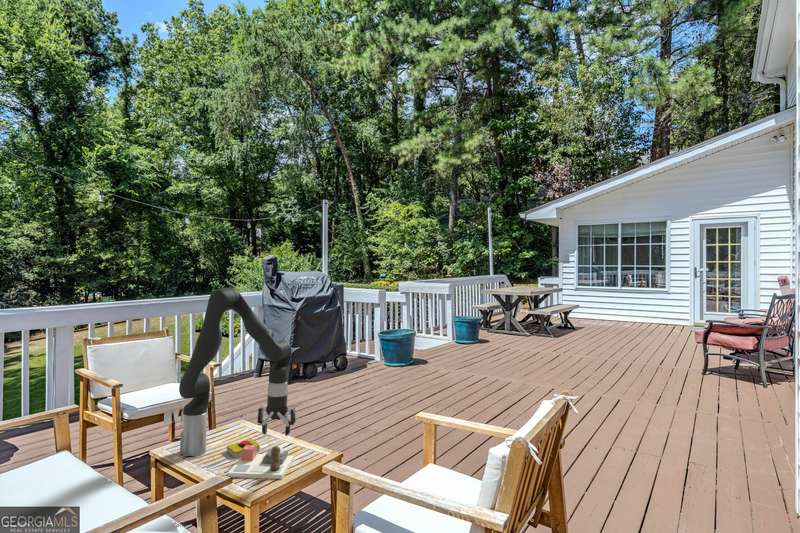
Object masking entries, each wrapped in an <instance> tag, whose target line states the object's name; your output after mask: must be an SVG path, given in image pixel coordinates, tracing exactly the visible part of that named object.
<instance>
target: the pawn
mask: <svg viewBox="0 0 800 533" xmlns="http://www.w3.org/2000/svg"><path fill="white" fill-rule="evenodd" d="M273 446H274V447H273V448H272V449H271V462H270V470H271V471H278V470H280V448H279V447H278V446H279V445H273Z"/></svg>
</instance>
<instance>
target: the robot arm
mask: <svg viewBox="0 0 800 533" xmlns="http://www.w3.org/2000/svg"><path fill="white" fill-rule="evenodd" d="M231 310H232V311H234V312H235V313H236V314H238V316H239V317H240V319H241V320H242V322H243V326H244V329H245V331H246V332H247V334H248V335H249V337H250V338H251V339H253V340H254V341H255V342H256V343H257V344H258V345H259V348H261V351H262V352H263V355H264V356H265V357H266V358H267V359H268V360H269V361H272V362H274V364H273V365H271V366H270V368H269V370H268V384H267V400H266V407H264V406H263V405H262V406H259V408H258V410H257V411H258V412H257V420H256V421H257V422H256V423H257V424H261V433H262V434H263V435H266V434H267V432H268V422H269V421H270V419H271V420H272V421H273V420H277V421H282V422H283V423H284V424H285V431H284V432H285V433H284V434H285V436H286V437H287V436H288V435H290V433H291V426H294V425H295V423H296V420H297V419H296V408H295V407H292V408H289V407H288V393H289V388H288V386H289V385H288V375H289V372H288V370H289V367H290V364H291V359H292V354H293V350H292V349H293V348H292V345H291V343H290V342H289V341H287V340H280V341H275V339H274V337H275V334H274V331H273V330H271V329H270V327H269V326H268V325H267V324H266V323H264V322H263V321H262V320H261V319H260V317H258V315H257V314H256V313H255V312H254V309H252V307H251V306H250V305H249V303H248V302H247V301H246V299H245V298H244V296H243V295H242V294H241V292H240V291H239V290H238V289H236V288H235V287H233V286H228V287H227V286H226V287H223V288H217V289H214V290H213V291H212V292H211V293H210V295H209V298H208V302H207V305H206V310H205V315H204V318H203V322H202V324H201V325H202V326H201V328H200V332H199V334H198V337H197V339H196V342H195V345H194V348H193V352H192V355H191V358H190V360H189V361H188V362H189V363H188V364H187V367H186V369H185V370H184V373H183V375H182V377H181V379H180V382H179V386H178V391H179V394H180V396H181V398H183V399H185V400H186V399H188V400H189V399H191V400H190V401H189V402H188V403H187V404H186V405H184V407H183V410H182V431H180V438H179V439H180V440H179V441H180V442H179V446H180V448H179V455H180V454H183V455H185V456H195V457H199V456H202V455H203V454H205V453H206V451H207V431H208V430H207V426H208V425H207V423H208V422H207V421H208V420H207V419H208V407H209V405H210V404H209V403H210V394H211V393H210V392H211V381H210V377H209V376H208V375H207V374H206V373H203V371H204V369H205V368H206V367H207V366H208V365H210V363H211V362H212V360H214V358H215V357H216V356H217V354H218V353H219V351H220V350H219V349H220V347H221V343H222V341H223V334H222V330H221V326H220V324H221V321H222V318H223V315H224V313H225V312H228V311H231ZM265 412H266V414H267V416H266V417H265V419H264V418H263V417H264V413H265ZM287 413H288V414H289V415H290V418H289V416H288V415H287ZM183 455H182V456H183ZM185 456H184V457H185Z"/></svg>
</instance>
